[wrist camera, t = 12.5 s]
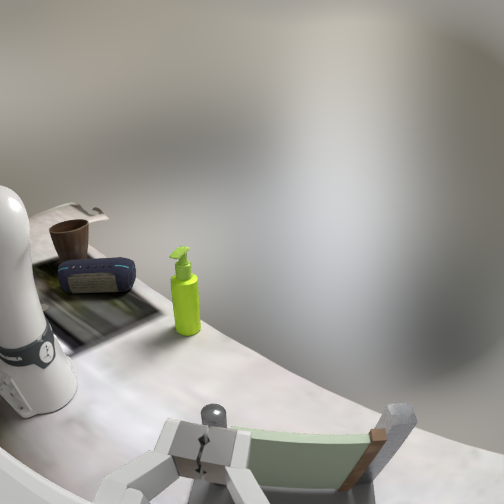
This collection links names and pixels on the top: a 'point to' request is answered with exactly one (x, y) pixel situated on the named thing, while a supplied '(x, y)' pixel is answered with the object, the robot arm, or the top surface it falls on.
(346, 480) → the gate leaf
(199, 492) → the gate frame
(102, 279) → the portable speaker
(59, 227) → the plant pot
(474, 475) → the top surface
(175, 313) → the soap dispenser
